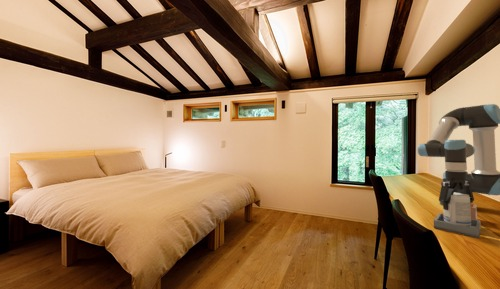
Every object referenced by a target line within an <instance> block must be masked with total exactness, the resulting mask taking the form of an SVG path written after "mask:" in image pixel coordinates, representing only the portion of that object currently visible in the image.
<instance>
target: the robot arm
mask: <svg viewBox="0 0 500 289" xmlns="http://www.w3.org/2000/svg"><path fill="white" fill-rule="evenodd" d="M499 124H500V107H499V105H498V104H494V103H493V104H492V103H491V104H489V103H488V104H481V105H473V106H466V107H464V106H463V107H458V108H456V109H453V110H451V111H449V112H447V113H446V114H444V115H443V116H442V117H441V118H440V119H439V120H438V126H437V127H436V128H435V130H434V131H433V133H432V134H431V136H430V138H428V140H427V142H426V143H420V144H418V145H417V153H418V155H419V156H420V157H427V158H432V157H433V158H444V165H445V167H444V168H445V169H444V170H445V171H444V172H443V173H442V177H441V178H442V181H441V183H440V184H441V187H440V192H439V197H438V201H439V204H440V205H441V206H442V210H443V209H444V213H443V214H444V216H447V217H451V204H449V203H450V200H451V195H453V194H454V192H456V193H461V194H467V195H469V198H470V203H471V204H474V201H475V197H474V193H475V194H481V195H482V194H483V195H489V196H500V171H499V170H497V157H496V155H497V154H496V138H495V137H496V136H495V134H496V133H495V130H496V129H497V128H498V127H499ZM464 126H465V127H467V126H468V129H469V130H471V132H472V144H473V145H472V144H470V143H467V142H466V140H465V139H449V138H450V136H451V135H452V134H453V132H454V130H456V129H458V127H464ZM472 156H473V161H474V163H473V164H474V169H473V170H471V171H470V172H471V173H468V171H467V169H468V165H467V158H470V157H472ZM446 200H447V201H446Z"/></svg>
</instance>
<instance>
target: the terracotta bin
mask: <svg viewBox="0 0 500 289" xmlns="http://www.w3.org/2000/svg"><path fill="white" fill-rule="evenodd" d="M477 206H478V205H477V204H475V203H470V208H471V219H474V220H478V211H477V210H478V207H477Z"/></svg>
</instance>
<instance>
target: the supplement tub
mask: <svg viewBox="0 0 500 289" xmlns="http://www.w3.org/2000/svg"><path fill="white" fill-rule="evenodd" d="M446 201H447V200H446ZM449 204H451V217H447V216H444V221H445V222H448V223H453V224H458V225H463V226H471V208H470V197H469V195H467V194H461V193H456V192H454V194H453V195H451V200H450V203H449ZM442 210H443V213H442V214H444V209H443V208H442Z"/></svg>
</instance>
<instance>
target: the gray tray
mask: <svg viewBox="0 0 500 289" xmlns="http://www.w3.org/2000/svg"><path fill="white" fill-rule="evenodd" d="M481 223H482V222H481V220H478V219H477V220H474V219H471V226H463V225H458V224H453V223H448V222H445V221H444V213H440V212H438V213H437V215H436V216H435V218H434V219H433V229H436V230H441V231H445V232H449V233H455V234H458V233H459V235H462V234H464V235H463V236H466V237H472V238H475V239H480V235H481V234H480V233H481V226H482V224H481Z"/></svg>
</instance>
